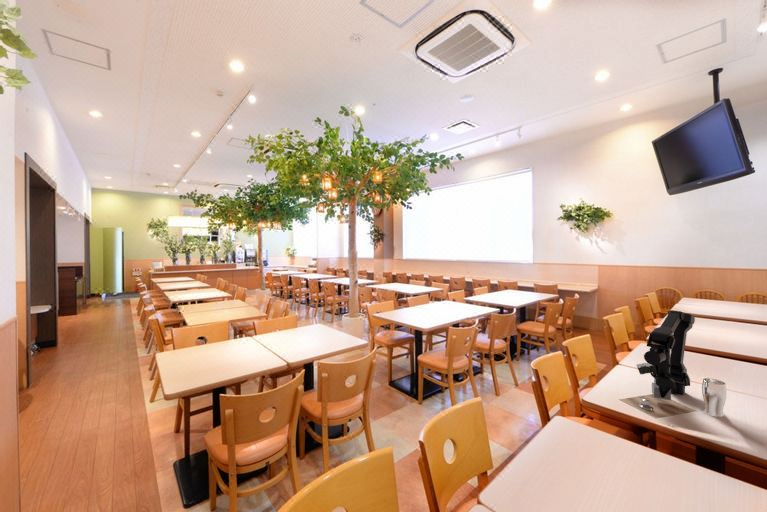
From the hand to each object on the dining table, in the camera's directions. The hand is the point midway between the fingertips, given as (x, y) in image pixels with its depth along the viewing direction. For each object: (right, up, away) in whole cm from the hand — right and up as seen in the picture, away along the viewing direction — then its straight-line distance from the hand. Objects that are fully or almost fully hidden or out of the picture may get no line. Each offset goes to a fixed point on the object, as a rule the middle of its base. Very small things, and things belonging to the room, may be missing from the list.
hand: (661, 394), depth 140 cm
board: (-3, -5, -2) cm, 7 cm away
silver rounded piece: (-9, -4, -3) cm, 11 cm away
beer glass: (+14, -5, -9) cm, 17 cm away
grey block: (0, -1, 0) cm, 1 cm away
